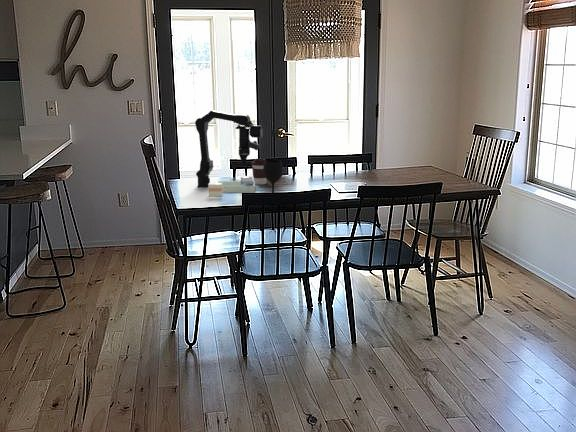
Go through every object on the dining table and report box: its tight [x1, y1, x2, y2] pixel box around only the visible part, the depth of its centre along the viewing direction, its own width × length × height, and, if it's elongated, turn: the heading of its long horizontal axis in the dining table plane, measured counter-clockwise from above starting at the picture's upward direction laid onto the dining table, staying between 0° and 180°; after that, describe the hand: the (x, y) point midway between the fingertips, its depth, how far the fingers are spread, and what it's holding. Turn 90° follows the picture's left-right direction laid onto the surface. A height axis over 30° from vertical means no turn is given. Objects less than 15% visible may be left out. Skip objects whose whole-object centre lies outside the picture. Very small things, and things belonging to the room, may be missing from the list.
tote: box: [217, 180, 256, 193], centre depth 350 cm, size 21×15×4 cm
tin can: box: [240, 175, 254, 186], centre depth 350 cm, size 7×7×7 cm
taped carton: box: [207, 182, 223, 197], centre depth 334 cm, size 7×5×7 cm
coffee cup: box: [250, 158, 267, 185], centre depth 368 cm, size 10×10×15 cm
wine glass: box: [263, 159, 284, 194], centre depth 329 cm, size 10×10×20 cm
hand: (244, 164), depth 354 cm, fingers open, 9 cm apart
